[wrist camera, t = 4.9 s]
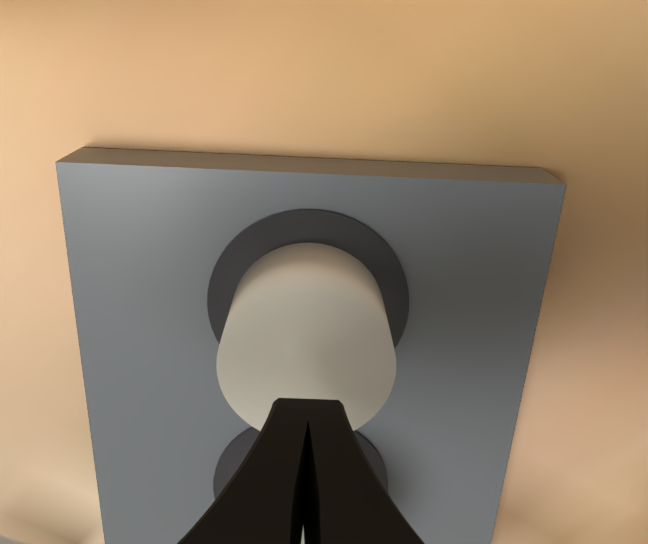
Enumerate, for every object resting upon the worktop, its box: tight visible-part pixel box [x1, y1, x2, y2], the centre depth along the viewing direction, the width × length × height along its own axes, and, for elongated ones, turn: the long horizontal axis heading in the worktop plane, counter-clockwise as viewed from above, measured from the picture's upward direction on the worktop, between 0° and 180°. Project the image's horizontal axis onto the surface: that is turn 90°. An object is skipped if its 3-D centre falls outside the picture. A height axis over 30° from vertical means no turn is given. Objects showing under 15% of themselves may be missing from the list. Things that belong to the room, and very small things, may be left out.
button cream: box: [216, 243, 396, 431], centre depth 16 cm, size 4×4×3 cm
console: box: [55, 147, 566, 544], centre depth 21 cm, size 14×22×2 cm, turn 177°
